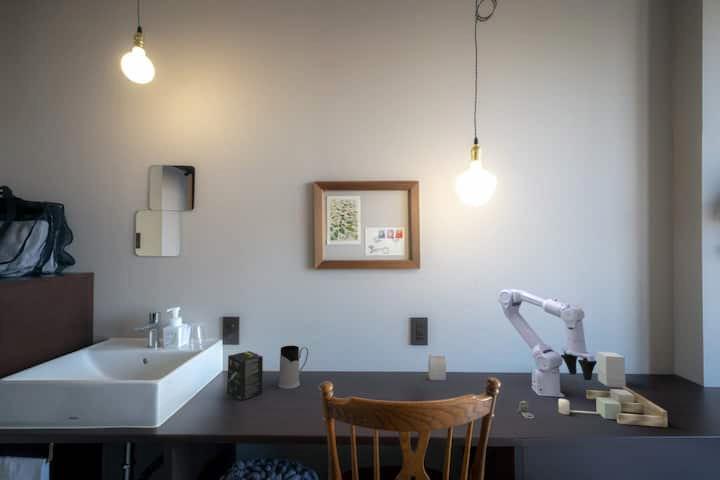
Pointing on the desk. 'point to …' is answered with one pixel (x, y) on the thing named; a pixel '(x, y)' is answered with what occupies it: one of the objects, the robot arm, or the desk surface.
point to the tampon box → (245, 375)
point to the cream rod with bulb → (603, 406)
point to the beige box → (437, 367)
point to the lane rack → (635, 409)
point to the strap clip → (524, 410)
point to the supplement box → (611, 369)
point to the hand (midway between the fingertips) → (580, 377)
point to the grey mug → (290, 366)
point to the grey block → (622, 396)
